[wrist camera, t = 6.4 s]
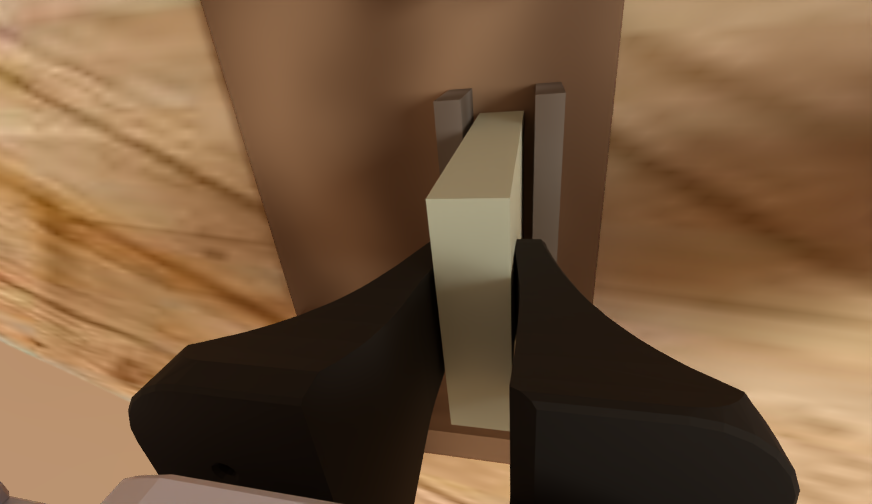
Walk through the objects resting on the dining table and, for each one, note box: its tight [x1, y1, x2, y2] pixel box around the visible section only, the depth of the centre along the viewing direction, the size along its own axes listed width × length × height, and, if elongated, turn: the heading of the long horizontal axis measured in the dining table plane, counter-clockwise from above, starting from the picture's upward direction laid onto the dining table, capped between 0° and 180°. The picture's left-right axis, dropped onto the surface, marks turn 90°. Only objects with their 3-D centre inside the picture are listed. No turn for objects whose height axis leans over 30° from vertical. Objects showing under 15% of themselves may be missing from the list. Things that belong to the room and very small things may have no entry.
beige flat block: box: [426, 111, 524, 431], centre depth 12 cm, size 2×6×8 cm, turn 5°
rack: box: [201, 0, 624, 464], centre depth 11 cm, size 14×26×7 cm, turn 5°
